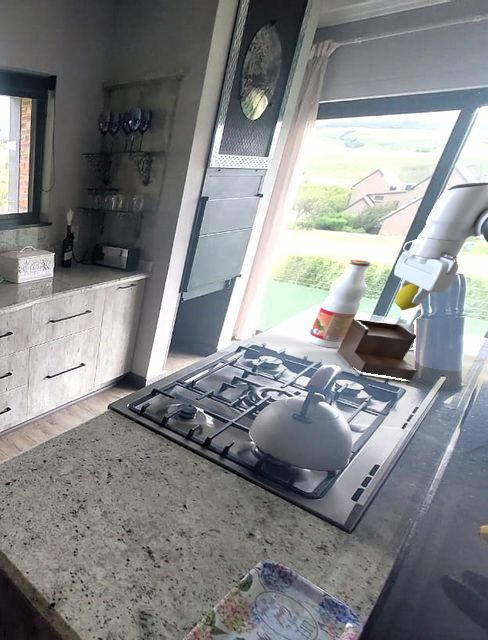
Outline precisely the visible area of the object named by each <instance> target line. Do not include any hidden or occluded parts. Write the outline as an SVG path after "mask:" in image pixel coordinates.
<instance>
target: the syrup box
mask: <svg viewBox="0 0 488 640" xmlns="http://www.w3.org/2000/svg"><path fill="white" fill-rule="evenodd" d="M420 304H421V303H420ZM420 304H419V305H418V306H416V307H414V308H411V309H406V310H401V311H402V312H401V313H400V315H399V317H398V318H397V321H396V322H395V324H400V325H402V326H403V327H405V328H406V329H408V330H409V331H411V332H412V333H414V324H413V322H414V320H415V319H416V318H417V317H419V316H420V315H421V306H420ZM413 343H414V341H413ZM413 343H412V345H411V346H410V348H409V349H411V348H412V347H413ZM411 351H412V350H409V352H411ZM412 352H413V351H412Z"/></svg>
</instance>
